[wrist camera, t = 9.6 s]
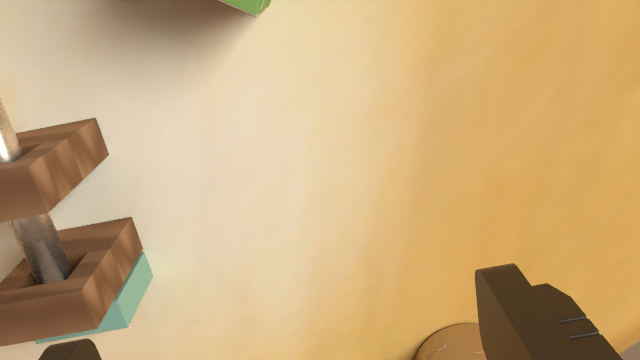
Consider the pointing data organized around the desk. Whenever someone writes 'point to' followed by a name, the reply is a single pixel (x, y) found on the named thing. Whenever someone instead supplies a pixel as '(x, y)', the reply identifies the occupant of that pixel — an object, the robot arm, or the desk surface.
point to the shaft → (34, 223)
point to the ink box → (248, 5)
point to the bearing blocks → (61, 237)
